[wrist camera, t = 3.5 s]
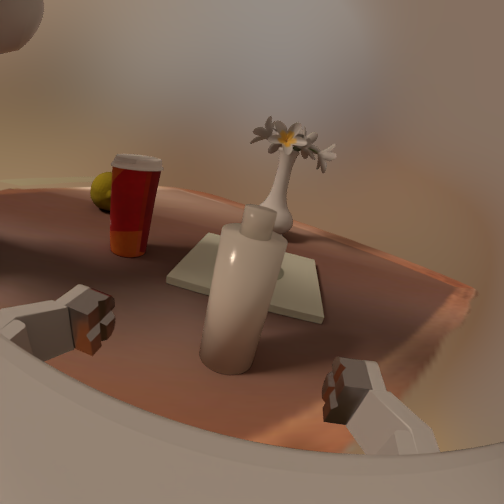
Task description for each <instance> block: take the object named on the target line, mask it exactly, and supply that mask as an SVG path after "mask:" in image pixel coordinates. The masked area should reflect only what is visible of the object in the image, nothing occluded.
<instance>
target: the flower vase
mask: <svg viewBox="0 0 504 504" xmlns="http://www.w3.org/2000/svg"><path fill="white" fill-rule="evenodd" d="M274 125H275V127H276V129H274V128H273V127H274ZM265 128H266V129H264V128H263V127H258V128H255V129H254V131H253V133H254V134H255V135H259V137H256V138H254V139H253V140H252V141H251V142H250V144H252V143H254V142H257V141H260V140H263V139H267V140H268V141H269V142H271V143H273V144H271V145H270V147H269V148H268V153H274V152H276V151H277V150H279V163H278V168H277V173H276V176H275V180H274V183H273V186H272V189H271V191H270V194H269V196H268V197H267V198H266V200H265V201H264V202H263V203H261V204H260V206H264V207H267V208H270V209H273V210H275V211H276V212H277V217H276V221H275V225H274V228H273V231H274V232H276V233H278V234H280V235H281V236H283V235H282V234H283V233H286V232H288V231H289V230H290V229H291V228H292V226H293V219H292V216H291V214H290V212H289V210H288V207H287V201H286V194H287V188H288V183H289V178H290V174H291V170H292V167H293V164H294V162H295V160H296V158H297V156H298V155H299V152H298V151H300V150H301V155H302V157H303V158H304V159H306V158H308V155H309V156H310V157H311V158H312V159H314V160H315V157H314V155H313V153H314V154H318V163H317V168H316V169H319V167H320V166H321V171H322V173H324V172H325V171H326V167H327V163H326V161H325V160H327V161H332V160H334V159H335V158H336V156H337V155H336V154H335V153H330V151H332V150H333V149H334V147H335V145H336V144H333V145H332V146H330V147H329V148H327V149H325V150H323V151H320V149H319V148H318V147H317V146H315V145H311V144H312V143H313V142H315V141H316V139H317V137H318V134H317V133H316V132H313V133H310V134H309V135H308V136H306V128H305V127H304V131H303V130H302V129H301V124H300V123H295V124H293V125H292V126H291V127H290V128H289V129H288V131H287V128H286V126H285V125H284V124H283V123H282V122H281V121H276V122H275V121H274V122H273V123H272V117H271V116H270V117H269V118H268V119H267V121H266V123H265ZM273 129H274V130H275V131H276V132H277V135H276V134H274V133H272V131H273ZM260 136H261V137H260ZM292 145H293V146H294V147H293V146H292ZM324 159H325V160H324Z"/></svg>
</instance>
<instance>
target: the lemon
mask: <svg viewBox="0 0 504 504" xmlns="http://www.w3.org/2000/svg"><path fill="white" fill-rule="evenodd" d="M111 184H112V172H105V173H102V174H100V175H98V176H97V177H96V178H95V179H94V181H93V183H92V185H91V192H90V194H91V199H92V201H93V203H94V204H95V205H96V206H97V207H99V208H101V209H103V210H108V211H110V206H111Z"/></svg>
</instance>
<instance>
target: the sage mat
mask: <svg viewBox="0 0 504 504" xmlns="http://www.w3.org/2000/svg"><path fill="white" fill-rule="evenodd" d="M220 237H221V236H220V235H216V234H212V233H208V234H207V235H206V236H205V237H204V238H203V239H202V240H201V241H200V242H199V243H198V244H197V245H196V246H195V247H194V248H193V249H192V250H191V251H190V252H189V253H188V254H187V255H186V256H185V257H184V258H183V259H182V260H181V261H180V262H179V263H178V264H177V266H176V267H175V268H174V269H173V270H172V271H171V272H170V273H169V274H168V275H167V277H166V283H168V284H171V285H174V286H178V287H181V288H184V289H188V290H191V291H195V292H198V293H202V294H205V295H209V294H210V289H211V283H212V278H213V273H214V267H215V262H216V257H217V252H218V247H219V242H220ZM268 311H269V312H272V313H277V314H281V315H285V316H289V317H293V318H297V319H301V320H305V321H310V322H314V323H318V324H322V322H323V319H324V313H323V307H322V301H321V295H320V289H319V283H318V278H317V272H316V266H315V261H314V260H313V259H309V258H305V257H301V256H297V255H293V254H290V253H286V252H285V255H284V258H283V262H282V265H281V269H280V272H279V276H278V279H277V283H276V286H275V289H274V293H273V296H272V300H271V303H270V306H269V310H268Z"/></svg>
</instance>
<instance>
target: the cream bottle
mask: <svg viewBox="0 0 504 504" xmlns="http://www.w3.org/2000/svg"><path fill="white" fill-rule="evenodd" d="M276 217H277V212H276V211H275V210H273V209H270V208H267V207H264V206H260V205H253V204H247V205H245V209H244V213H243V218H242V222H241V224H240V223H233V224H227V225H224V226H223V227H222V232H221V237H220V242H219V247H218V252H217V257H216V262H215V267H214V273H213V278H212V283H211V289H210V294H209V300H208V305H207V311H206V316H205V322H204V328H203V333H202V339H201V345H200V351H199V356H200V359H201V361H202V362H203V363H204V365H205V366H207V367H208V368H209V369H211V370H213V371H215V372H217V373H220V374H225V375H237V374H241V373H244V372H245V371H247V370H248V369H249V368H250V367H251V365H252V362H253V359H254V355H255V352H256V349H257V346H258V343H259V339H260V336H261V333H262V330H263V326H264V323H265V320H266V316H267V313H268V310H269V306H270V303H271V300H272V296H273V293H274V289H275V286H276V283H277V279H278V276H279V272H280V269H281V265H282V262H283V258H284V255H285V251H286V247H287V244H288V242H287V240H286V239H285V238H284V237H283V236H281V235H280V234H278V233H276V232H274V231H273V228H274V225H275V221H276Z"/></svg>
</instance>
